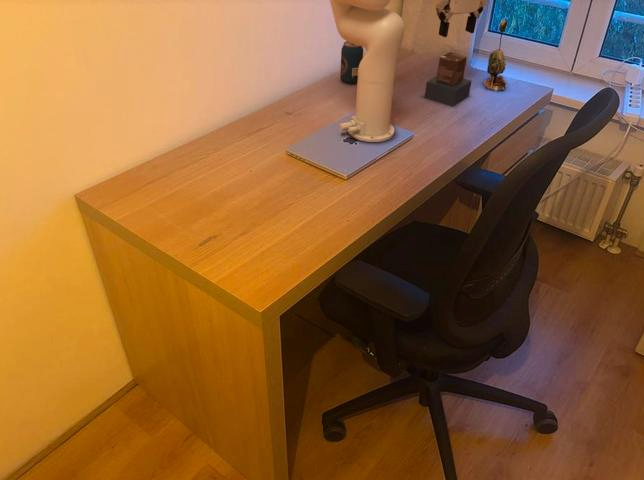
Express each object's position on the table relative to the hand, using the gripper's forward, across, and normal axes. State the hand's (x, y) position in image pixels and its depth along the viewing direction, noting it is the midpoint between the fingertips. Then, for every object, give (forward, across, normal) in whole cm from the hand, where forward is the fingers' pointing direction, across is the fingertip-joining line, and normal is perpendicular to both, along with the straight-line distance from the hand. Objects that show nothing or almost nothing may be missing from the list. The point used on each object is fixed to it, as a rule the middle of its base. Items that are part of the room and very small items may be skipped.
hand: (456, 33), depth 155 cm
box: (+14, -1, 0) cm, 14 cm away
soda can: (+19, +20, -24) cm, 37 cm away
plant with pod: (+19, -20, 0) cm, 27 cm away
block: (+19, -1, 0) cm, 19 cm away
